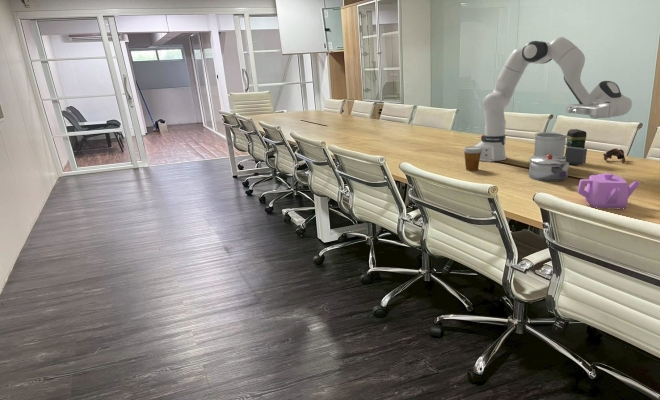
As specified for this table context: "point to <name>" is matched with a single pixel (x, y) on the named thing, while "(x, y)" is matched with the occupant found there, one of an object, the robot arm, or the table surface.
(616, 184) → the teakettle
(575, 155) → the lid
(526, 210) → the table surface
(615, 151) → the brown arched piece
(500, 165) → the table surface
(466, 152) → the disposable coffee cup
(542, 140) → the utensil holder
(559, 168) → the pot
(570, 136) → the coffee jar
